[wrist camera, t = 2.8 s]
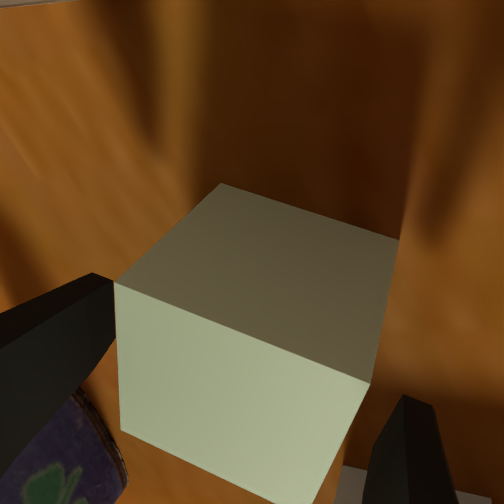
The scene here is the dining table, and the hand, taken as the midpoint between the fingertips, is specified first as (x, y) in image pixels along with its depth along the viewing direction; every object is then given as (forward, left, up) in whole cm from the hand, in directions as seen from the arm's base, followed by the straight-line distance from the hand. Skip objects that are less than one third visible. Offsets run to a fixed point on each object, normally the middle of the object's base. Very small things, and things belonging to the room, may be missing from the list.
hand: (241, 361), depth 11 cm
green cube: (0, 0, -4) cm, 4 cm away
